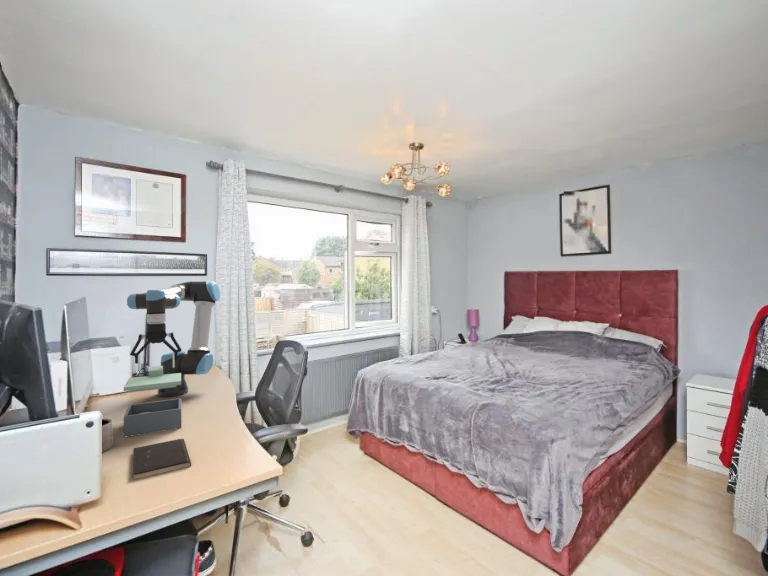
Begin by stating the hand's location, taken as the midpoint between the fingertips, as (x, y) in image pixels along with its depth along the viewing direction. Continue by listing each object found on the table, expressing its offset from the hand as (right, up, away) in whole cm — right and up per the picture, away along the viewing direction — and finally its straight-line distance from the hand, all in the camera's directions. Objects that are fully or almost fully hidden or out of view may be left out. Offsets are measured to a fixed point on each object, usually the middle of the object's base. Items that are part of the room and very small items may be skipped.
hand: (156, 368), depth 172 cm
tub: (+7, -22, -13) cm, 26 cm away
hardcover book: (+29, -22, -45) cm, 58 cm away
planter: (0, -22, -37) cm, 43 cm away
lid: (+5, -5, -9) cm, 11 cm away
